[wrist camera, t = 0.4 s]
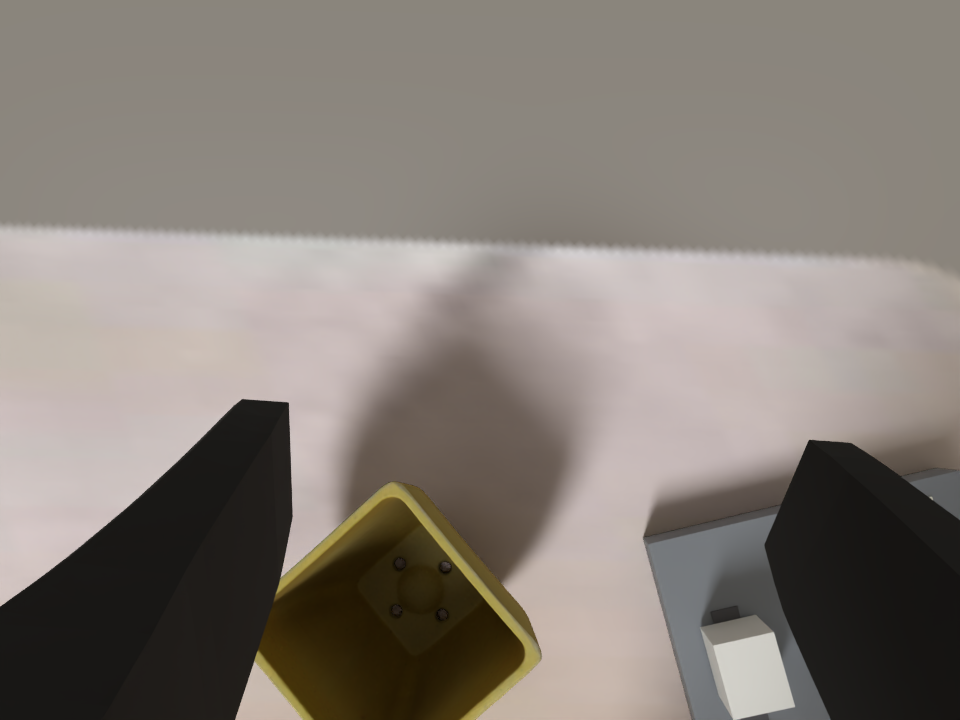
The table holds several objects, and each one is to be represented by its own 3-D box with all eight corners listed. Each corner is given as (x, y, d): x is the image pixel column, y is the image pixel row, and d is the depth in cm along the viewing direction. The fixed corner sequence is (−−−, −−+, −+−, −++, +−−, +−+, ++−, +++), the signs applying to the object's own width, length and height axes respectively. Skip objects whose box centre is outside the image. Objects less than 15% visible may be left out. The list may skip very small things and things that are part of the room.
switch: (775, 683, 33) (795, 707, 30) (718, 695, 33) (733, 720, 30) (755, 614, 33) (773, 631, 30) (700, 627, 33) (713, 645, 30)
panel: (1048, 820, 33) (1081, 847, 31) (736, 882, 34) (747, 912, 32) (936, 467, 35) (961, 470, 33) (642, 537, 36) (648, 544, 34)
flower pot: (550, 601, 36) (548, 658, 27) (415, 719, 36) (370, 814, 27) (432, 463, 37) (394, 475, 28) (303, 578, 38) (224, 625, 29)
